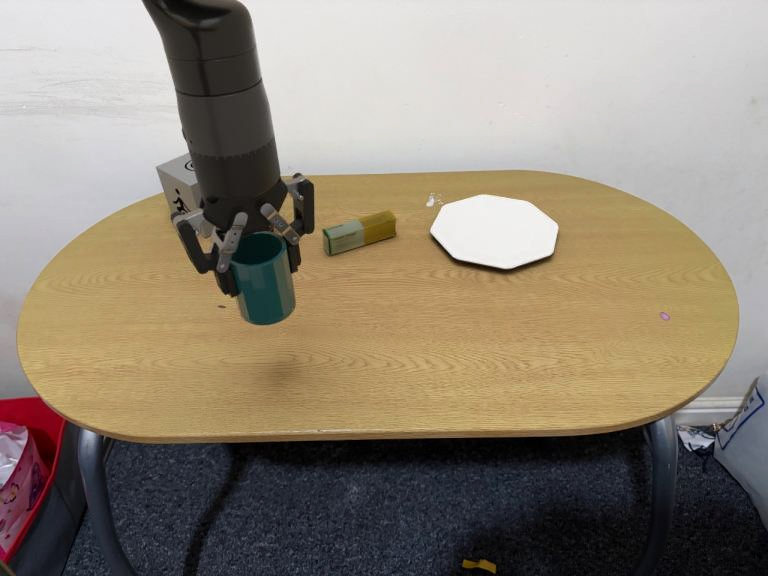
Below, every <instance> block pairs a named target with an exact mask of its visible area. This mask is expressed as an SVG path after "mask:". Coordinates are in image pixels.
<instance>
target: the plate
mask: <svg viewBox="0 0 768 576" xmlns="http://www.w3.org/2000/svg"><path fill="white" fill-rule="evenodd" d="M559 228H560V227H559V224H558V223H557V222H556V221H554V220H553V219H552V218H551V217H549V216H548V215H547V214H546V213H544V212H543V211H541V209H539V208H538V207H537V206H536V205H534V204H533V203H531V202H530V201H527V200H522V199H516V198H510V197H503V196H498V195H492V194H486V193H485V194H478V195H474V196H470V197H468V198H464V199H461V200H457V201H453V202H449V203H446V204H444V205H443V206H441V208H440V210H439V212H438V214H437V216H436V218H435V219H434V221H433V223H432V225H431V227H430V230H429V231H430V235H431V236H432V237H433V238H434V239H435V240H436V241H437V242H438V244H440V246H441V247H442V248H443V249H444V251H446V252H447V253H448V254H449V256H451V258H453V259H454V260H456V261H458V262H463V263H468V264H473V265H478V266H482V267H487V268H494V269H497V270H503V271H509V270H513V269H516V268H520V267H523V266H525V265H529V264H532V263H534V262H537V261H541V260H544V259H546V258H549V257H551V256H552V255H553V254H554V251H555V247H556V242H557V239H558V233H559Z"/></svg>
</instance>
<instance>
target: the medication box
mask: <svg viewBox="0 0 768 576" xmlns="http://www.w3.org/2000/svg"><path fill="white" fill-rule="evenodd" d="M396 224H397V217H396V216H395V214H394V213H393V211H391V209H387V210H384V211H380V212H377V213H373V214H370V215H366V216H363V217H360V218H356V219H353V220H350V221H345V222H343V223H340V224H337V225H332V226H329V227H325V228H322V229H321V232H322V239H323V240H322V241H323V249H324V252H325V254H326V255H327V256H328V257H331V256H333V255H336V254H340V253H344V252H346V251H350V250H352V249H353V250H354V249H356V248H359V247H362V246H366V245H369V244H372V243H374V242H379V241H381V240H386V239H388V238H391V237H394V236H396V235H397V233H396V226H397V225H396Z"/></svg>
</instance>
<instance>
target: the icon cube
mask: <svg viewBox="0 0 768 576" xmlns="http://www.w3.org/2000/svg"><path fill="white" fill-rule="evenodd" d="M155 170H156V172H157V175H158V178H159V182H160V185H161V187H162V190H163V193H164V196H165V199H166V202H167V205H168V208H169V211H170V214H171V215H172V214H173V213H174V212H177V211H178V212H181V213H182V214H183V215H184V214H186V213H189V212H191V211H193V210H196V209H198V208H199V204H200V201H201V193H200V189H199V186H198V182H197V179H196V175H195V171H194V168H193V164H192V161H191V157H190V154H189V152H186V153H185V154H183V155H180V156H177V157H175V158H172V159H170V160H168V161H165V162H163V163H161V164H159V165H156V166H155ZM213 226H214V225H212V224H211V223H209V222H208V221H206V220H205V221H204V222H203V223H202V224H201V229H202V231H201V233H200V236H201V237H203V238H204V239H207V238H209V237H212V231H213Z"/></svg>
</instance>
